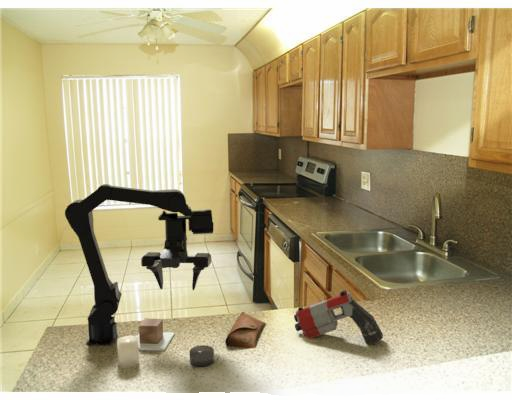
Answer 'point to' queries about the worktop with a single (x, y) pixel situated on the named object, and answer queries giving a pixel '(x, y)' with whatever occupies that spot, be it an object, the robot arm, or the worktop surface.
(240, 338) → the sunglasses case
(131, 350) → the stoneware jar
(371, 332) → the toy gun
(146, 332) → the walnut cube
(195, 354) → the black tin
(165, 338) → the tile
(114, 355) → the worktop surface
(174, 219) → the robot arm
